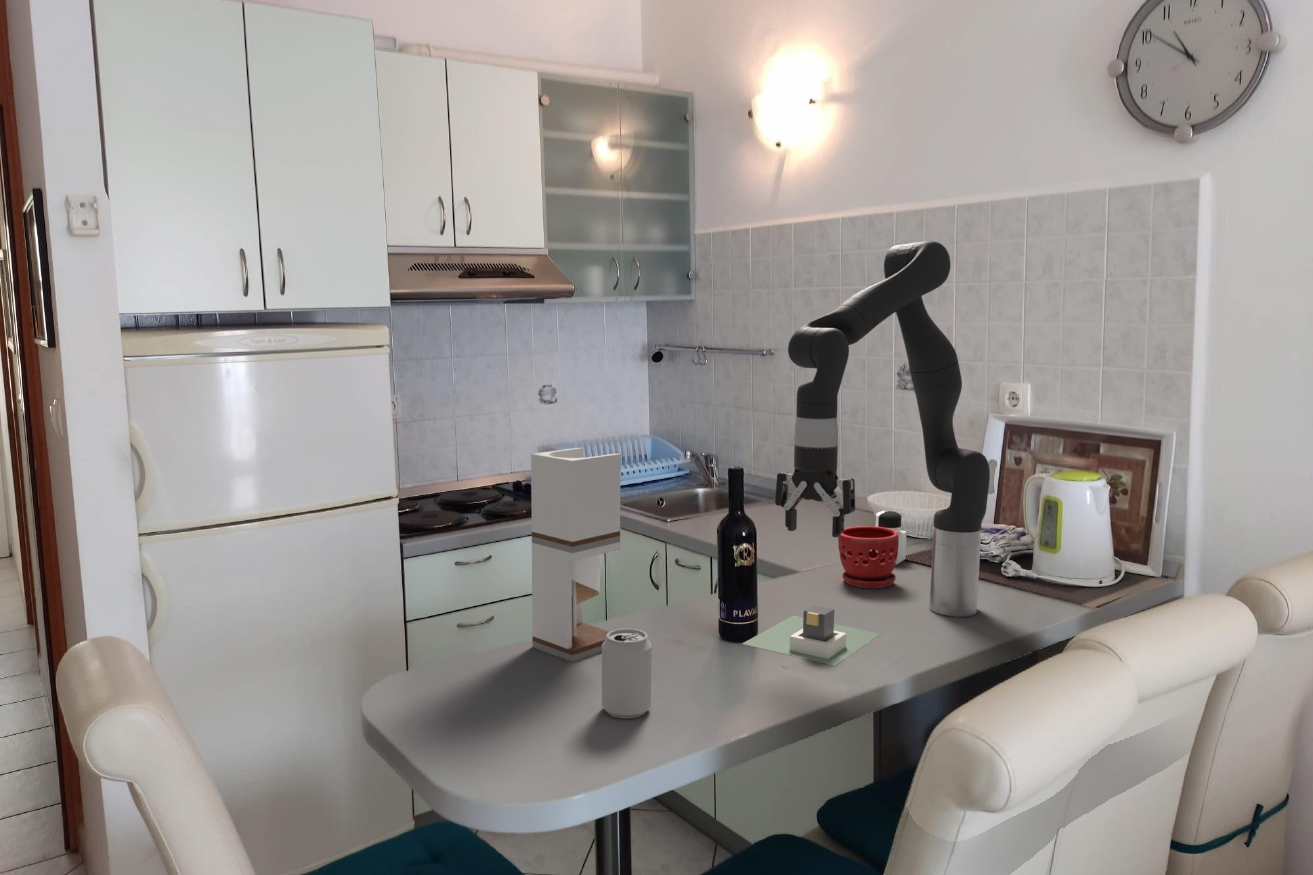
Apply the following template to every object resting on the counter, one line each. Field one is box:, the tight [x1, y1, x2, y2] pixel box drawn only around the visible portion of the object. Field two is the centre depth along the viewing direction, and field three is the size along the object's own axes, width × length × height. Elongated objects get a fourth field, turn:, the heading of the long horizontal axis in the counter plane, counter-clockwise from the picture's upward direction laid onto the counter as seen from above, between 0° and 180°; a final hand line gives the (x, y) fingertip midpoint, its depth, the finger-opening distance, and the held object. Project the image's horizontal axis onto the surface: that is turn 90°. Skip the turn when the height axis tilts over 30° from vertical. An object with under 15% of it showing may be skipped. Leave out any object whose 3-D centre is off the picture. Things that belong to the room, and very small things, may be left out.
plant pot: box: [837, 525, 899, 589], centre depth 215 cm, size 13×13×12 cm
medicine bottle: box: [870, 510, 907, 566], centre depth 235 cm, size 7×7×12 cm
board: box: [741, 615, 881, 667], centre depth 175 cm, size 20×18×4 cm
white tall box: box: [530, 447, 622, 663], centre depth 171 cm, size 11×11×35 cm
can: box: [601, 628, 653, 719], centre depth 145 cm, size 8×8×12 cm
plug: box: [802, 604, 835, 642], centre depth 169 cm, size 5×4×7 cm
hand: (813, 533), depth 170 cm, fingers open, 8 cm apart
